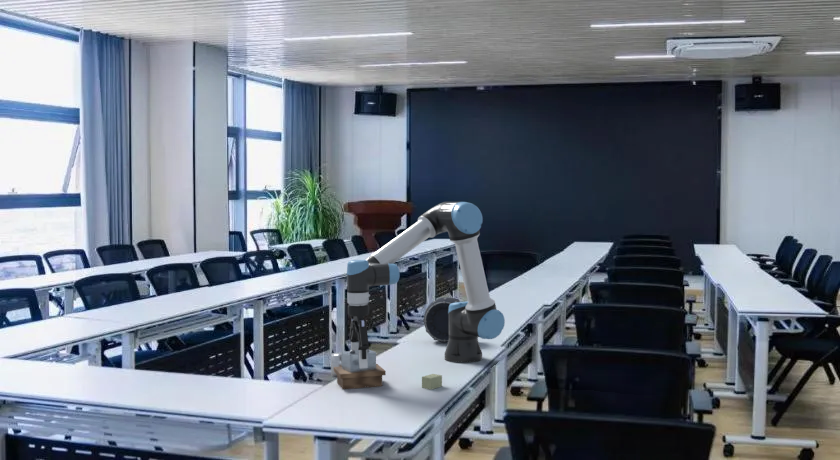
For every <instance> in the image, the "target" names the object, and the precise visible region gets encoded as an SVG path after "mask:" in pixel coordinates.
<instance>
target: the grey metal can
mask: <svg viewBox="0 0 840 460" xmlns="http://www.w3.org/2000/svg"><path fill="white" fill-rule="evenodd" d="M334 367H342V351H341V352H333V353H330V374H331V375H330V376H331V377H333V378H337V374H336V373H335V372H334Z"/></svg>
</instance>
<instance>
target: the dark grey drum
mask: <svg viewBox="0 0 840 460" xmlns="http://www.w3.org/2000/svg"><path fill="white" fill-rule="evenodd" d="M456 302H461V301H460V300H458V299H457V298H454V297H451V296H449V297H448V296H445V297H444V296H443V297H439V298H436V299H434V300H433V301H432V302H430V303H429V305H428V306H427V307H425V311H424V314H423V320H422V322H423V323H424V325H423V326H424V328H425V333H427V334H428V335H429V336H430V337H431V338H432V339H433V341H438V342H439V343H444V344H448V343H447V342H448V341H449V314H448V311H449V305H450V304H451V303H456Z"/></svg>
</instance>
